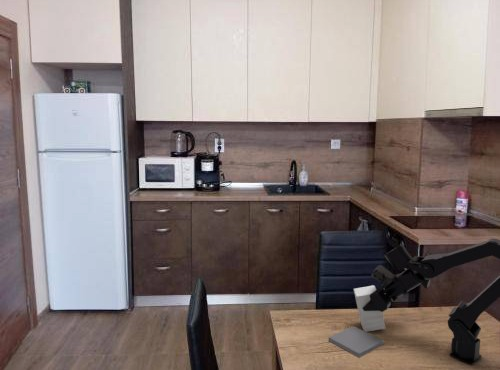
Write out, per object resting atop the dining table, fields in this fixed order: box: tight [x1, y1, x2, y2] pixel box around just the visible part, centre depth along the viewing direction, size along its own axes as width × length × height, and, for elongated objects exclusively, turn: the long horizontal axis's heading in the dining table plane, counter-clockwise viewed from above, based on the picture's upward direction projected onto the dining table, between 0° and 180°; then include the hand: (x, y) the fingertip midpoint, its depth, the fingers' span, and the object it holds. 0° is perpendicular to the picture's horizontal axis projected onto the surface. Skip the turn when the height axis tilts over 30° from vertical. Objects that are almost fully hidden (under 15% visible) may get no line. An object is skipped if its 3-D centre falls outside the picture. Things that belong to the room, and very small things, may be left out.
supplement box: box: [353, 284, 386, 333], centre depth 137 cm, size 7×7×13 cm
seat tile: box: [328, 325, 385, 358], centre depth 129 cm, size 12×12×1 cm
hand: (368, 304), depth 138 cm, fingers closed on supplement box, 9 cm apart
